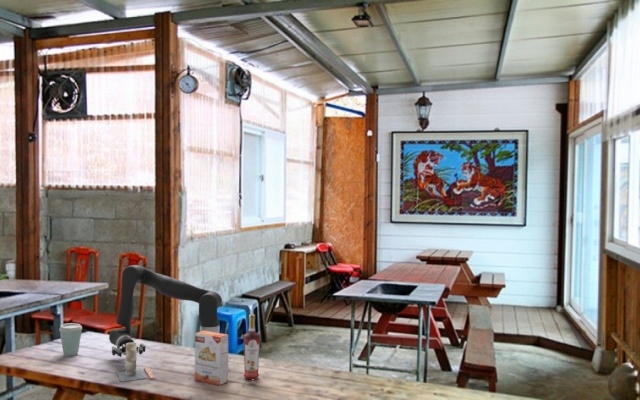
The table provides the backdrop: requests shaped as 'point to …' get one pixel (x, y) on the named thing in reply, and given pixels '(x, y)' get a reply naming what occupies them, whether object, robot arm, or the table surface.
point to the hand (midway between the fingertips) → (130, 353)
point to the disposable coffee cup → (70, 338)
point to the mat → (124, 378)
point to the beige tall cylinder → (130, 359)
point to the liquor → (251, 350)
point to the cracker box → (211, 357)
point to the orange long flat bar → (149, 373)
